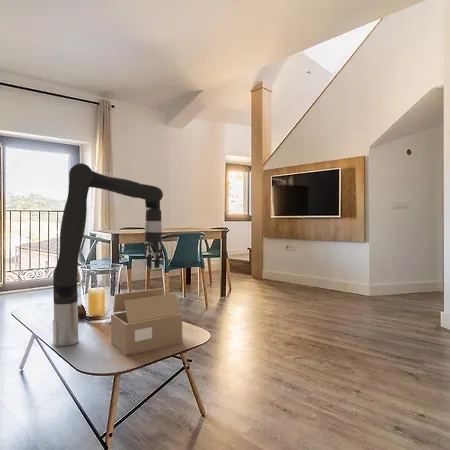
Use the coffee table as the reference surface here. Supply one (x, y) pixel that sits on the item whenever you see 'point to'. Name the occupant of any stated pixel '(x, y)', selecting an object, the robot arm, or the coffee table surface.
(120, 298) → the far flap
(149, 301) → the near flap
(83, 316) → the decorative turtle
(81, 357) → the coffee table surface
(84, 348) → the coffee table surface
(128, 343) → the carton
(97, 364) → the coffee table surface
